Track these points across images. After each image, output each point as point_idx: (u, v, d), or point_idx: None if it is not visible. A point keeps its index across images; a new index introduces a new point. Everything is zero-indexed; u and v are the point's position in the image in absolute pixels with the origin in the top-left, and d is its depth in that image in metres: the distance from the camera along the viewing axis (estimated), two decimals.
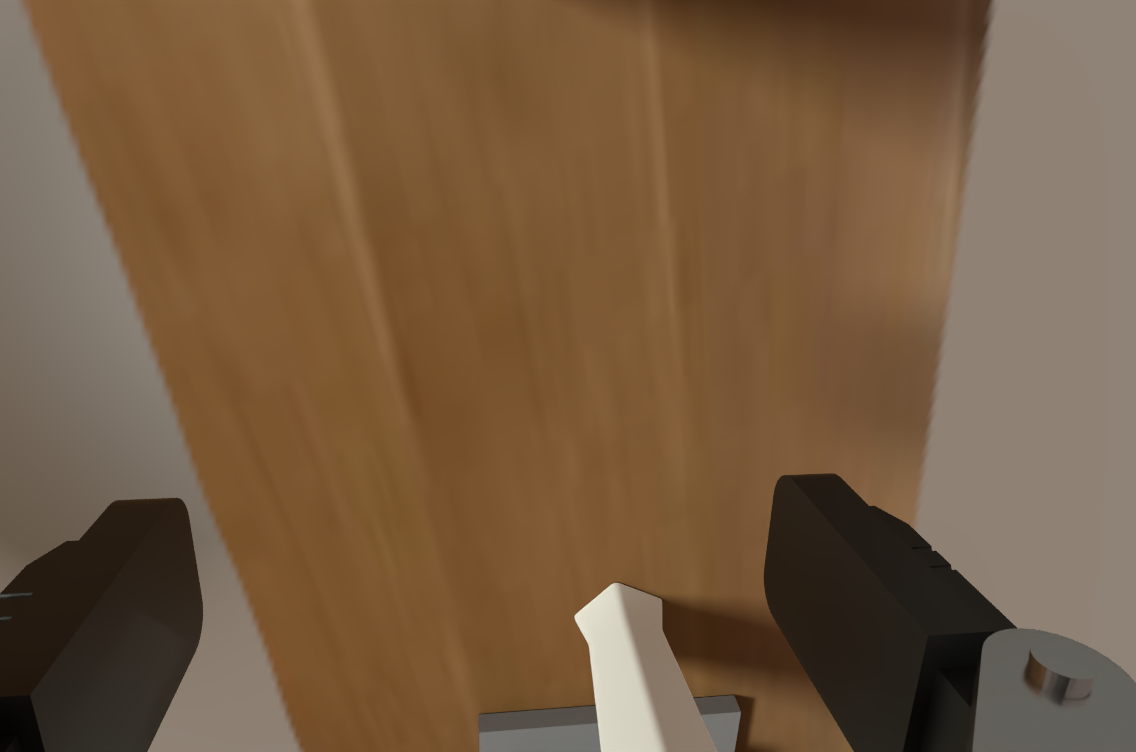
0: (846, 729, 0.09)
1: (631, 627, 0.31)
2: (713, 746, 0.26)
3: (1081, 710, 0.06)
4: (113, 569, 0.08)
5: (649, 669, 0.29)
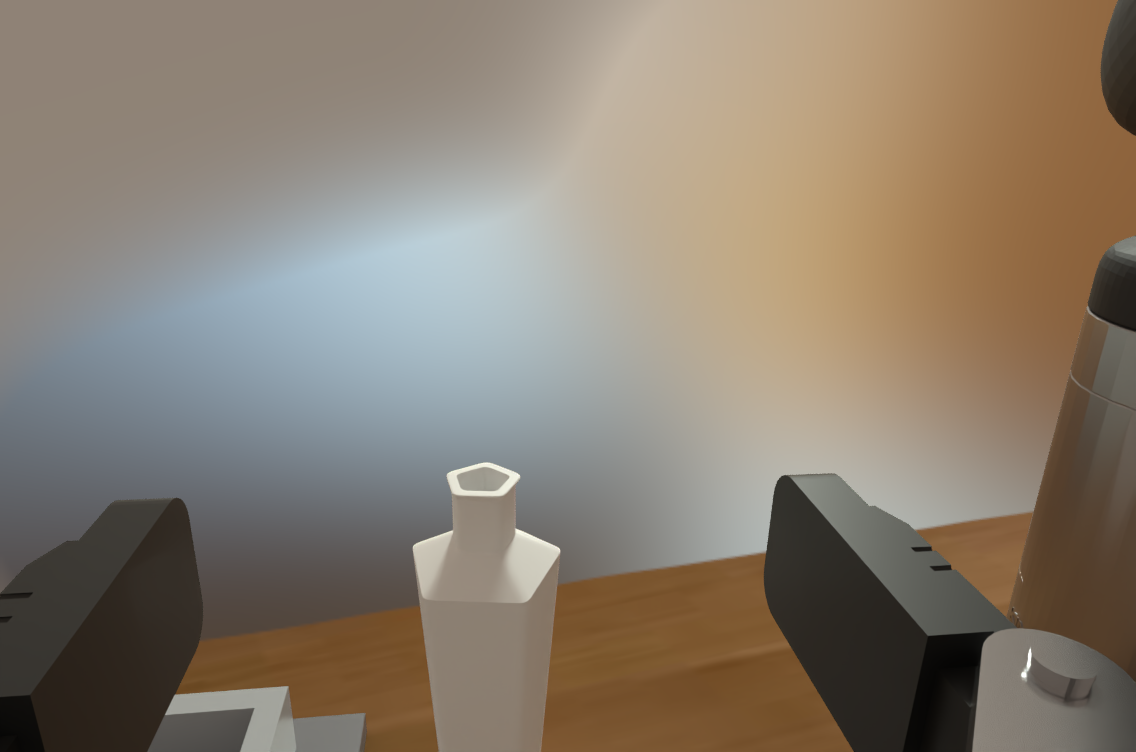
0: (846, 729, 0.09)
1: None
2: (522, 718, 0.23)
3: (1081, 710, 0.06)
4: (113, 569, 0.08)
5: (538, 751, 0.26)
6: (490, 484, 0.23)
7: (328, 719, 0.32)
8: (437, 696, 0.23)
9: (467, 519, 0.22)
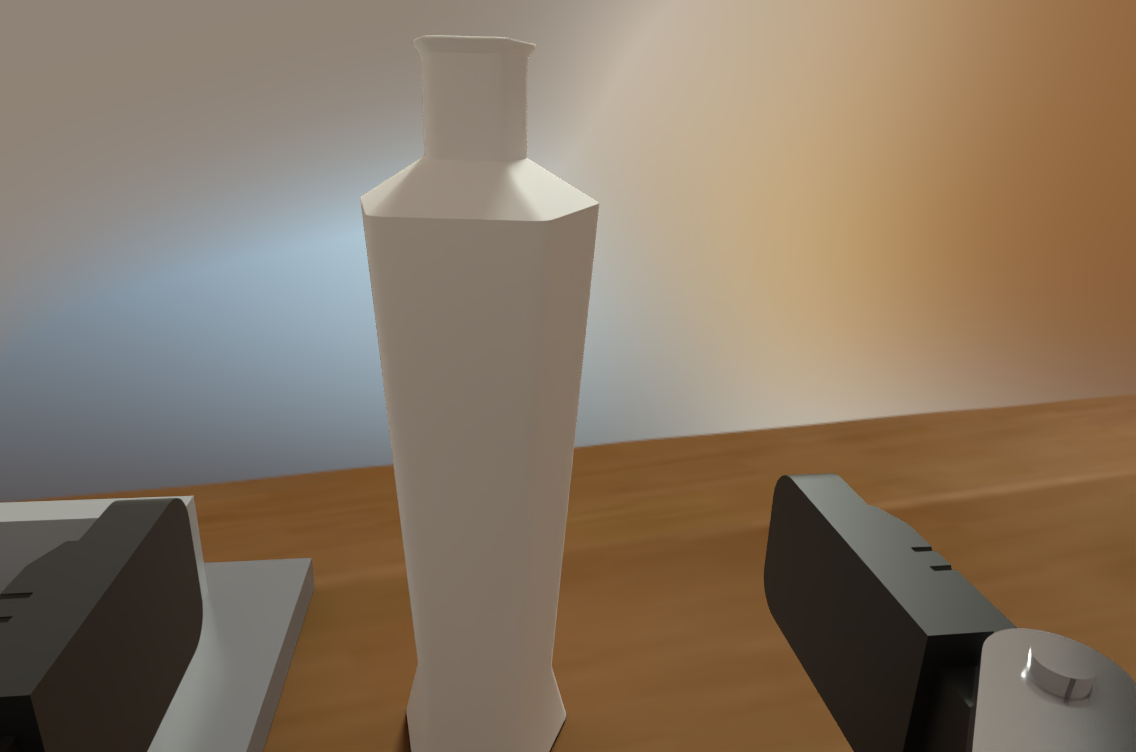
0: (846, 729, 0.09)
1: (553, 641, 0.18)
2: (537, 465, 0.14)
3: (1081, 710, 0.06)
4: (113, 569, 0.08)
5: (558, 557, 0.17)
6: None
7: (259, 563, 0.23)
8: (396, 419, 0.14)
9: (445, 91, 0.13)
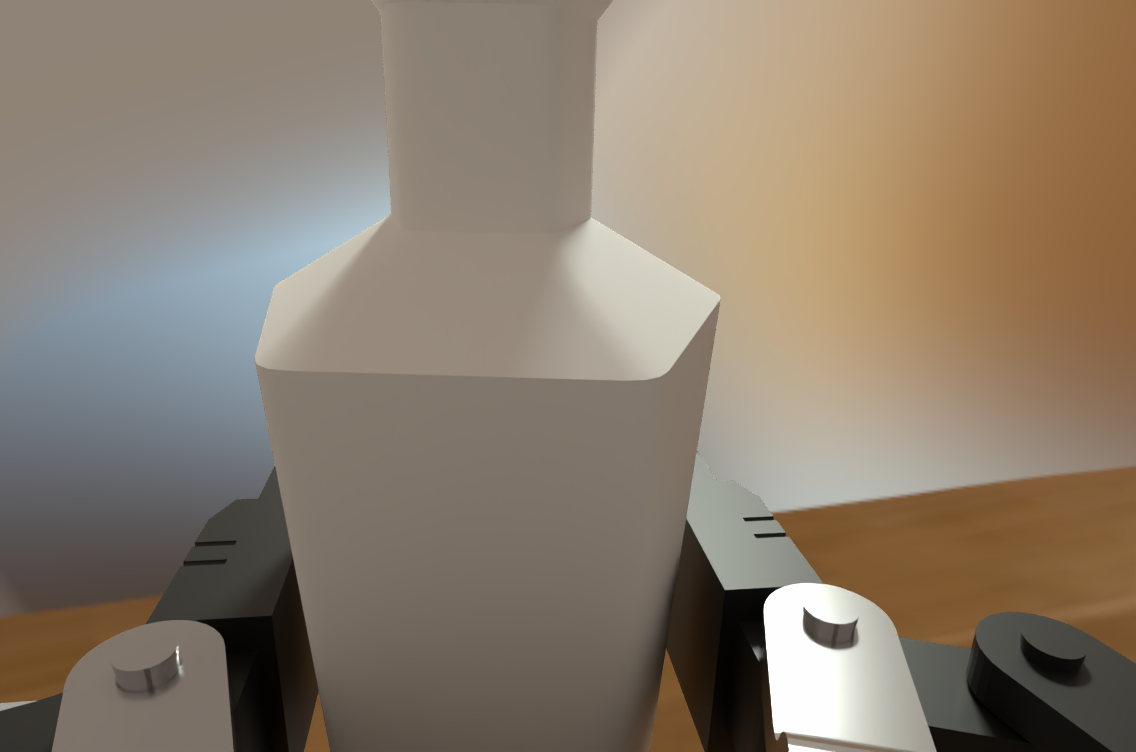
0: (682, 685, 0.10)
1: None
2: None
3: (834, 651, 0.07)
4: None
5: None
6: None
7: None
8: (335, 741, 0.07)
9: (430, 89, 0.06)
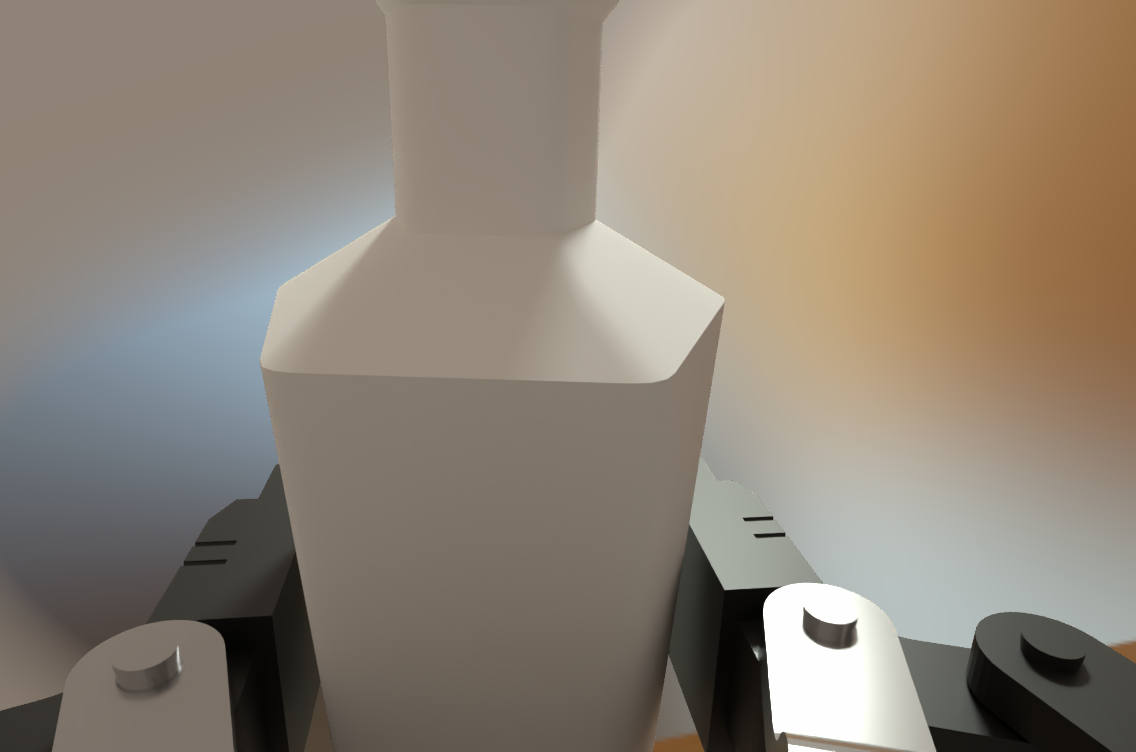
0: (682, 685, 0.10)
1: None
2: None
3: (835, 651, 0.07)
4: None
5: None
6: None
7: None
8: (339, 743, 0.07)
9: (436, 91, 0.06)
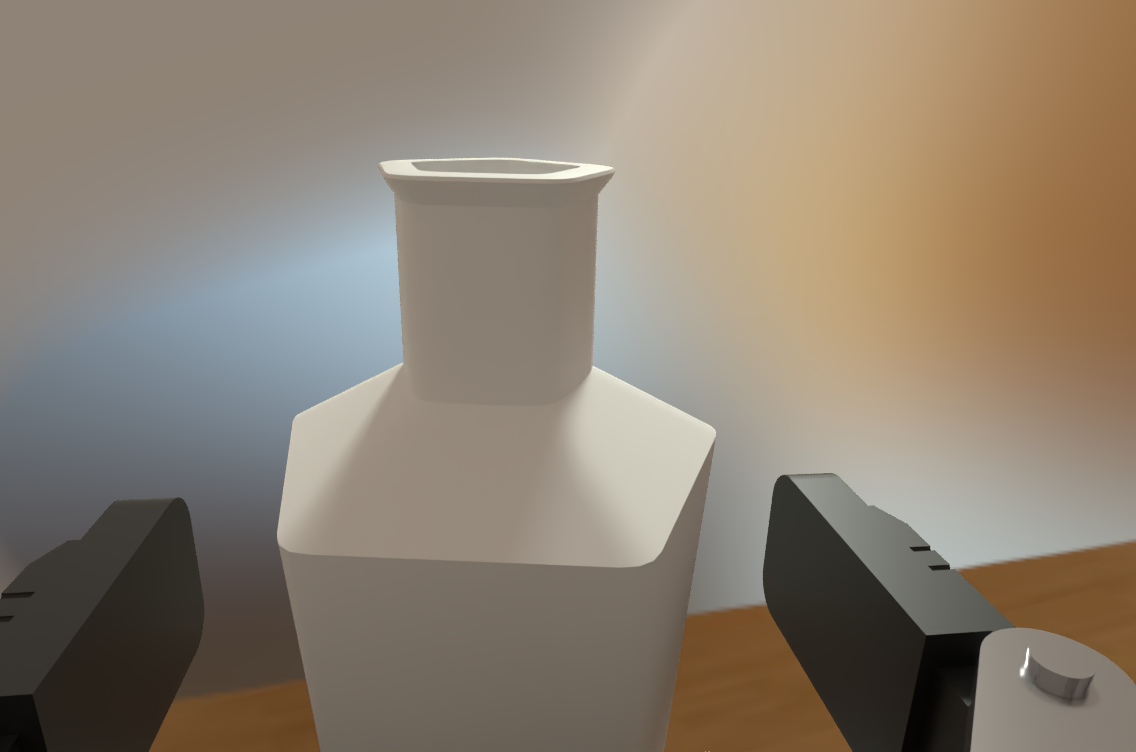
0: (844, 728, 0.09)
1: None
2: None
3: (1079, 709, 0.06)
4: (115, 568, 0.08)
5: None
6: None
7: None
8: None
9: (440, 279, 0.06)
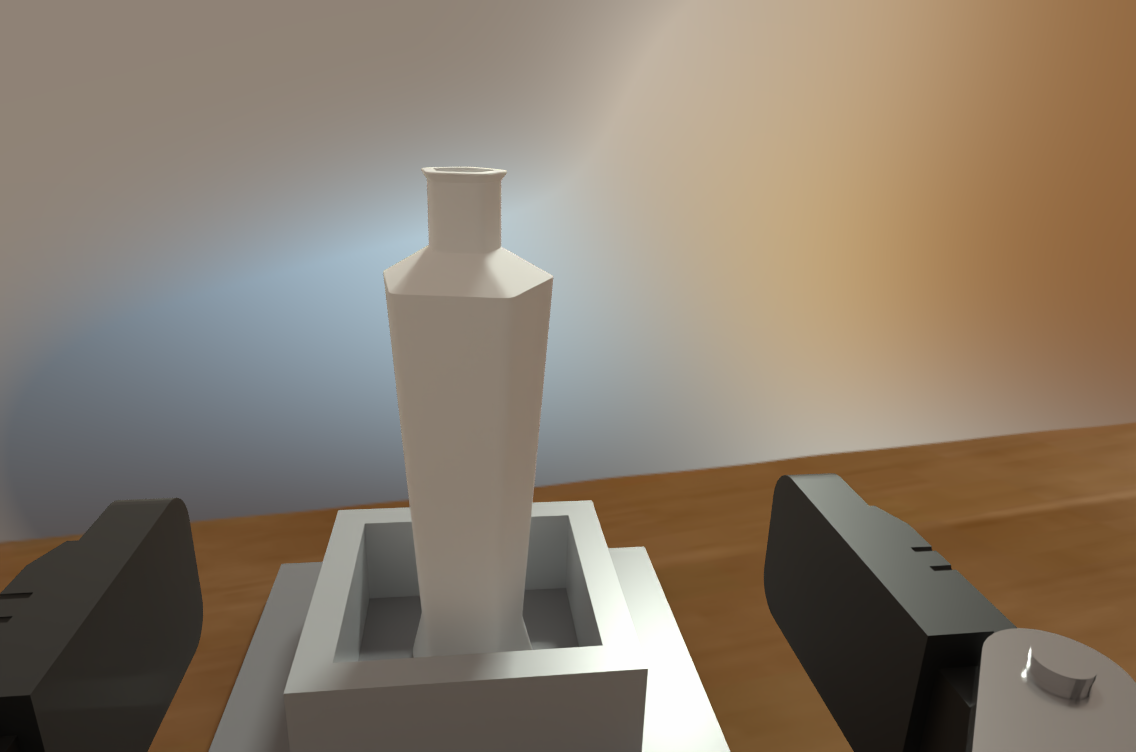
0: (846, 729, 0.09)
1: (523, 596, 0.24)
2: (506, 463, 0.20)
3: (1082, 710, 0.06)
4: (113, 569, 0.08)
5: (525, 532, 0.23)
6: None
7: (609, 550, 0.31)
8: (407, 430, 0.20)
9: (443, 207, 0.19)
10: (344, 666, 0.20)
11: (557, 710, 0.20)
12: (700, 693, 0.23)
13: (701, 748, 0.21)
